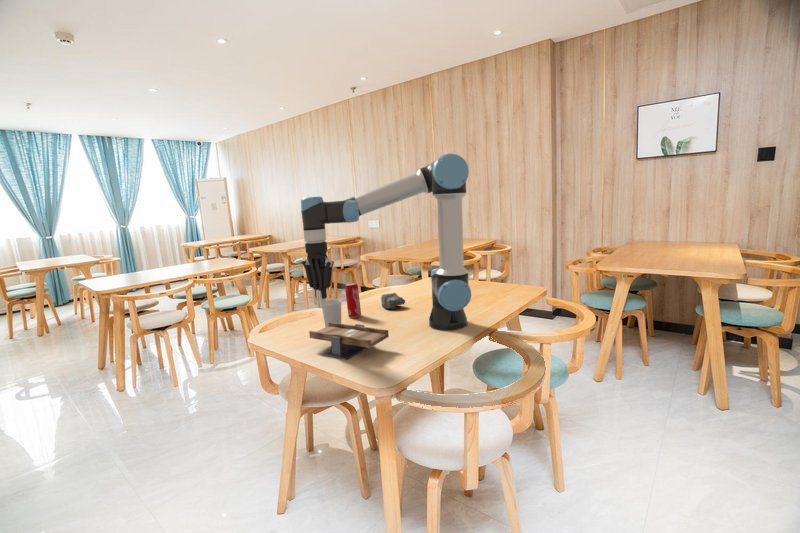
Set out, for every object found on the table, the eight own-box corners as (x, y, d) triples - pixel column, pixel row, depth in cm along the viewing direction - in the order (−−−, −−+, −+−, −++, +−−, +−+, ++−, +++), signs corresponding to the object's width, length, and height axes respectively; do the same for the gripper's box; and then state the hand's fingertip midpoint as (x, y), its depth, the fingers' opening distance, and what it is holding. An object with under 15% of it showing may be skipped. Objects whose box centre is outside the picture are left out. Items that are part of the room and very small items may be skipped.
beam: (388, 336, 139) (388, 330, 138) (370, 348, 129) (369, 341, 129) (330, 328, 152) (330, 322, 152) (309, 337, 143) (309, 331, 142)
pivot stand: (374, 343, 146) (373, 325, 144) (346, 360, 132) (345, 340, 131) (352, 339, 151) (350, 322, 150) (323, 355, 137) (321, 336, 136)
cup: (339, 334, 158) (337, 304, 156) (320, 333, 160) (317, 304, 158) (346, 327, 166) (343, 299, 164) (328, 327, 168) (325, 299, 166)
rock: (408, 307, 190) (407, 293, 189) (396, 312, 184) (394, 298, 183) (387, 303, 199) (386, 291, 198) (375, 308, 193) (373, 295, 192)
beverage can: (356, 319, 177) (353, 285, 174) (344, 317, 180) (341, 284, 178) (364, 315, 182) (361, 282, 179) (352, 313, 185) (350, 281, 183)
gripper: (337, 240, 140) (343, 305, 144) (309, 240, 147) (315, 302, 151) (323, 243, 134) (329, 311, 138) (293, 242, 141) (300, 308, 145)
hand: (322, 306), depth 145 cm, fingers closed
